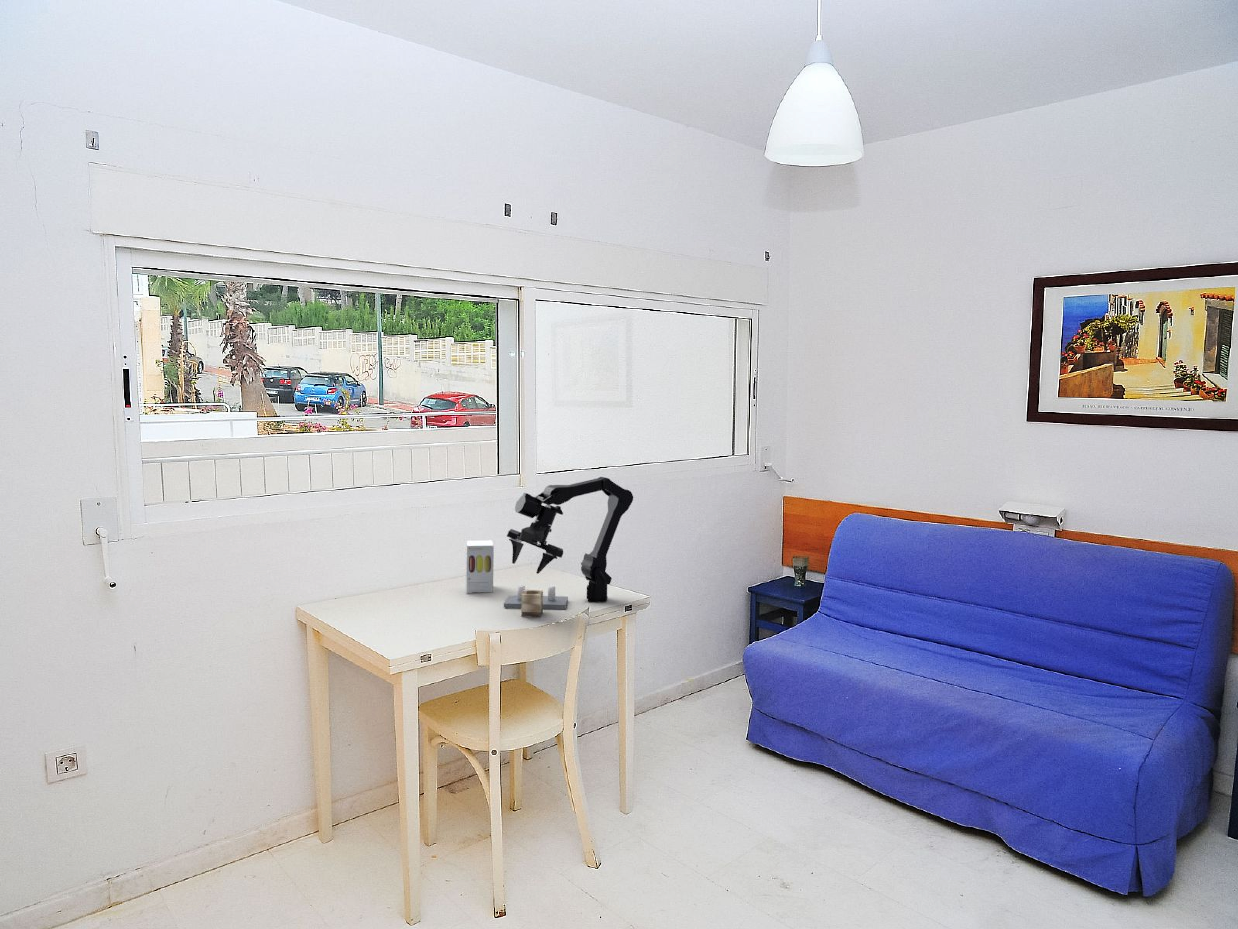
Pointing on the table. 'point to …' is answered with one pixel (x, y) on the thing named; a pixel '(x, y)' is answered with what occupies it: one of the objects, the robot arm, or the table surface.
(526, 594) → the sleeve
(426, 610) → the table surface
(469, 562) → the supplement box
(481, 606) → the table surface
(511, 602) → the pin board
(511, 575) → the table surface
